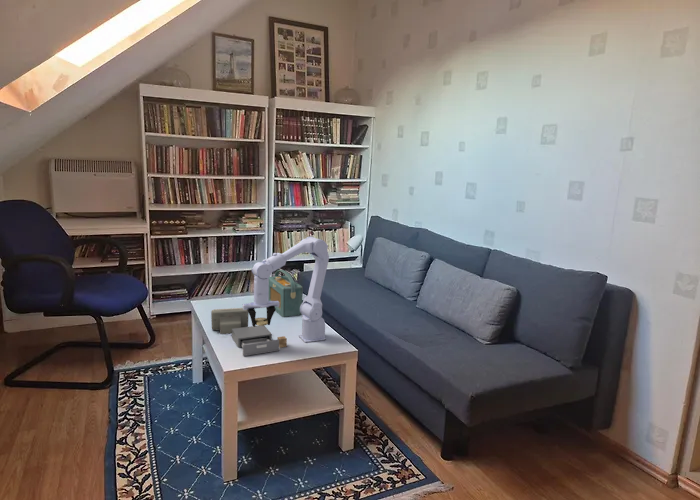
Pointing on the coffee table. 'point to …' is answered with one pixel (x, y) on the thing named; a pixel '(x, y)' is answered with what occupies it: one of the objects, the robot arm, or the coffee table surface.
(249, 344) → the grey drawer
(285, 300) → the radio
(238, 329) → the player housing
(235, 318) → the digital clock
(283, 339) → the tan wooden block
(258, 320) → the disc
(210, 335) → the coffee table surface
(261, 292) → the robot arm
